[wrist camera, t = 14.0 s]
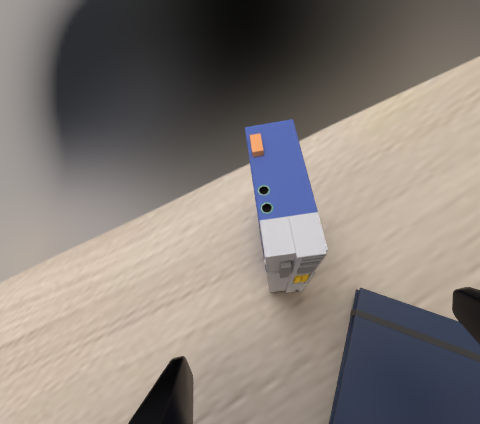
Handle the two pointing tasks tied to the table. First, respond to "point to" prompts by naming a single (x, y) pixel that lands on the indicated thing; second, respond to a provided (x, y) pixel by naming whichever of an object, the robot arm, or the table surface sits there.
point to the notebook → (406, 367)
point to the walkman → (284, 206)
